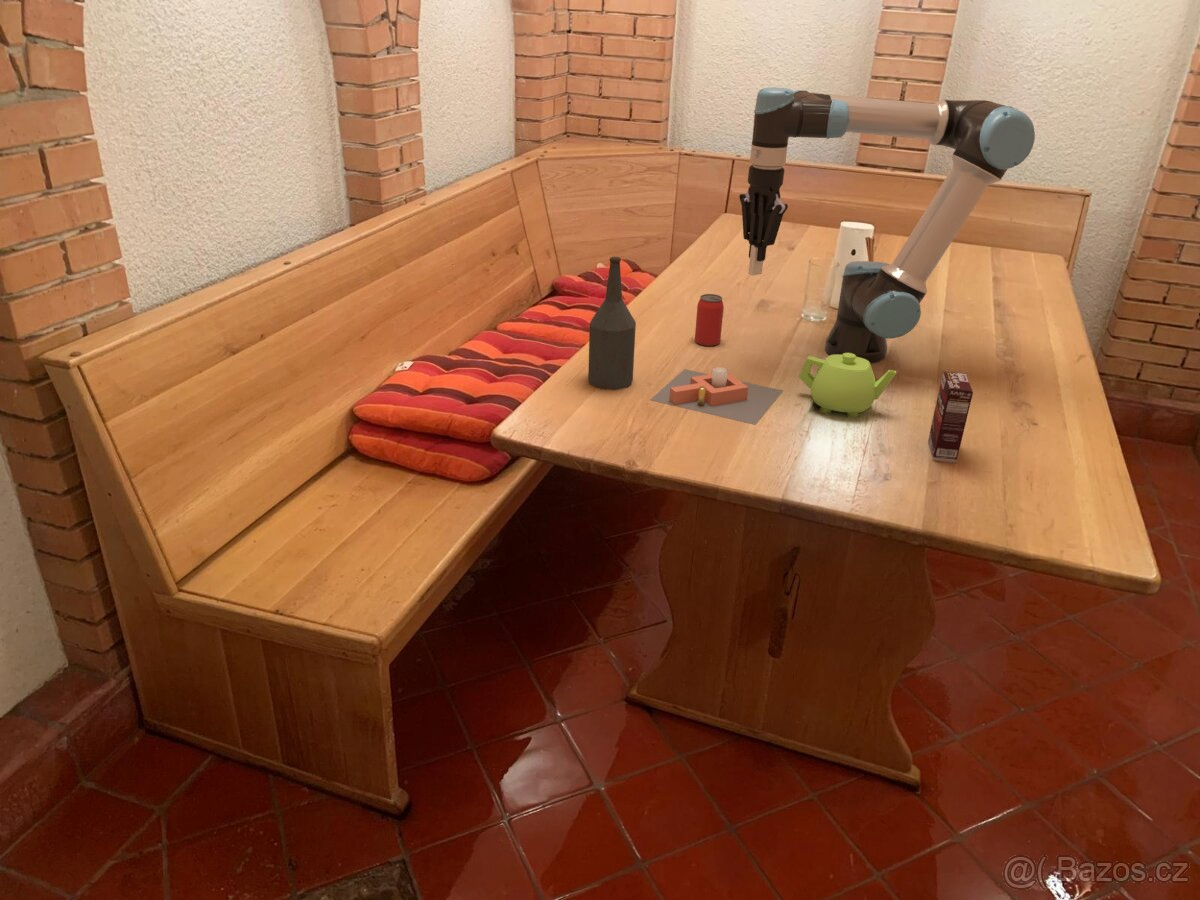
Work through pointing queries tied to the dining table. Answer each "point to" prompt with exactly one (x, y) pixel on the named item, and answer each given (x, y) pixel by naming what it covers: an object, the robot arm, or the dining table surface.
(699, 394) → the gold metal capsule
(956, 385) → the supplement box
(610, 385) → the bottle
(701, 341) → the beer can
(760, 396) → the board
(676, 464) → the dining table surface
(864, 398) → the teapot
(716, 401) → the square nut
